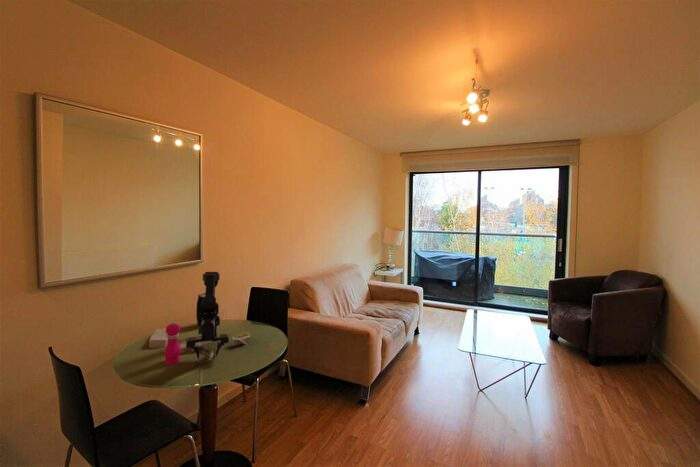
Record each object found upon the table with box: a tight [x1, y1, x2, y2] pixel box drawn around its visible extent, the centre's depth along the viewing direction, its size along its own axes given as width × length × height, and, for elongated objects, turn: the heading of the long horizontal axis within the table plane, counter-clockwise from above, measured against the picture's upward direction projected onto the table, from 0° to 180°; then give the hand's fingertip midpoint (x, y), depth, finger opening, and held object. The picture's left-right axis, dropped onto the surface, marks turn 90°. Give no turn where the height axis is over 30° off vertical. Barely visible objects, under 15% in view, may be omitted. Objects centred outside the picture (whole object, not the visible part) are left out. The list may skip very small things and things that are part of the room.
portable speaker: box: [196, 292, 205, 328], centre depth 200 cm, size 9×9×20 cm
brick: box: [148, 327, 168, 349], centre depth 175 cm, size 16×8×5 cm, turn 18°
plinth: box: [178, 336, 204, 355], centre depth 169 cm, size 12×12×3 cm
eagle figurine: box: [193, 346, 216, 364], centre depth 156 cm, size 8×7×9 cm
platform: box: [231, 331, 251, 347], centre depth 176 cm, size 12×18×7 cm, turn 134°
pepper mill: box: [163, 320, 181, 365], centre depth 153 cm, size 7×7×20 cm
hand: (207, 357), depth 157 cm, fingers closed on eagle figurine, 7 cm apart
